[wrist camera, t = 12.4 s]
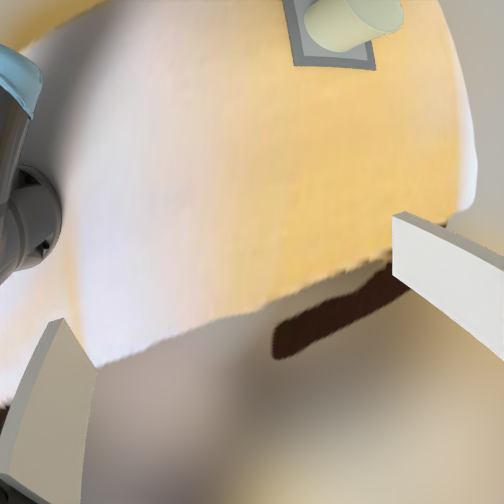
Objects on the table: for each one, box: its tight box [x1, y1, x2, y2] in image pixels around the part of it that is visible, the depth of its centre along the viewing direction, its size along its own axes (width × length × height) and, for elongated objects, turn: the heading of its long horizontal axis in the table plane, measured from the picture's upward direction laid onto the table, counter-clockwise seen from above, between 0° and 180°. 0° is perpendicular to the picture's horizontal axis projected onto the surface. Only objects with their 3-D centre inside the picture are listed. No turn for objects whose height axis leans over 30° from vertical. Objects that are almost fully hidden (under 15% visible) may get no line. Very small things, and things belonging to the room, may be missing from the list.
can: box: [304, 0, 403, 52], centre depth 27 cm, size 9×9×12 cm
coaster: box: [282, 0, 376, 70], centre depth 33 cm, size 14×14×1 cm
